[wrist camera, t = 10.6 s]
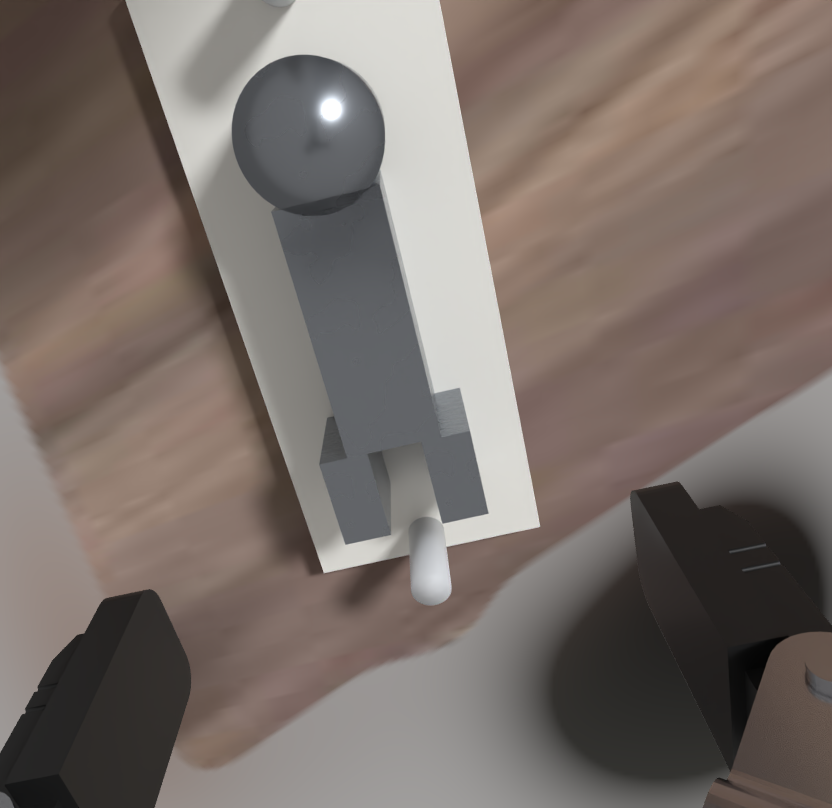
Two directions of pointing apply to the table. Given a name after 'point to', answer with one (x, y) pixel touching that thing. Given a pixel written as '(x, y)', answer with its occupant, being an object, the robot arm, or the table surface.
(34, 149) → the table surface
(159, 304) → the table surface
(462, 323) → the peg rest
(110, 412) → the table surface
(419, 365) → the ball-topped forked rod
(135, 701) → the robot arm
